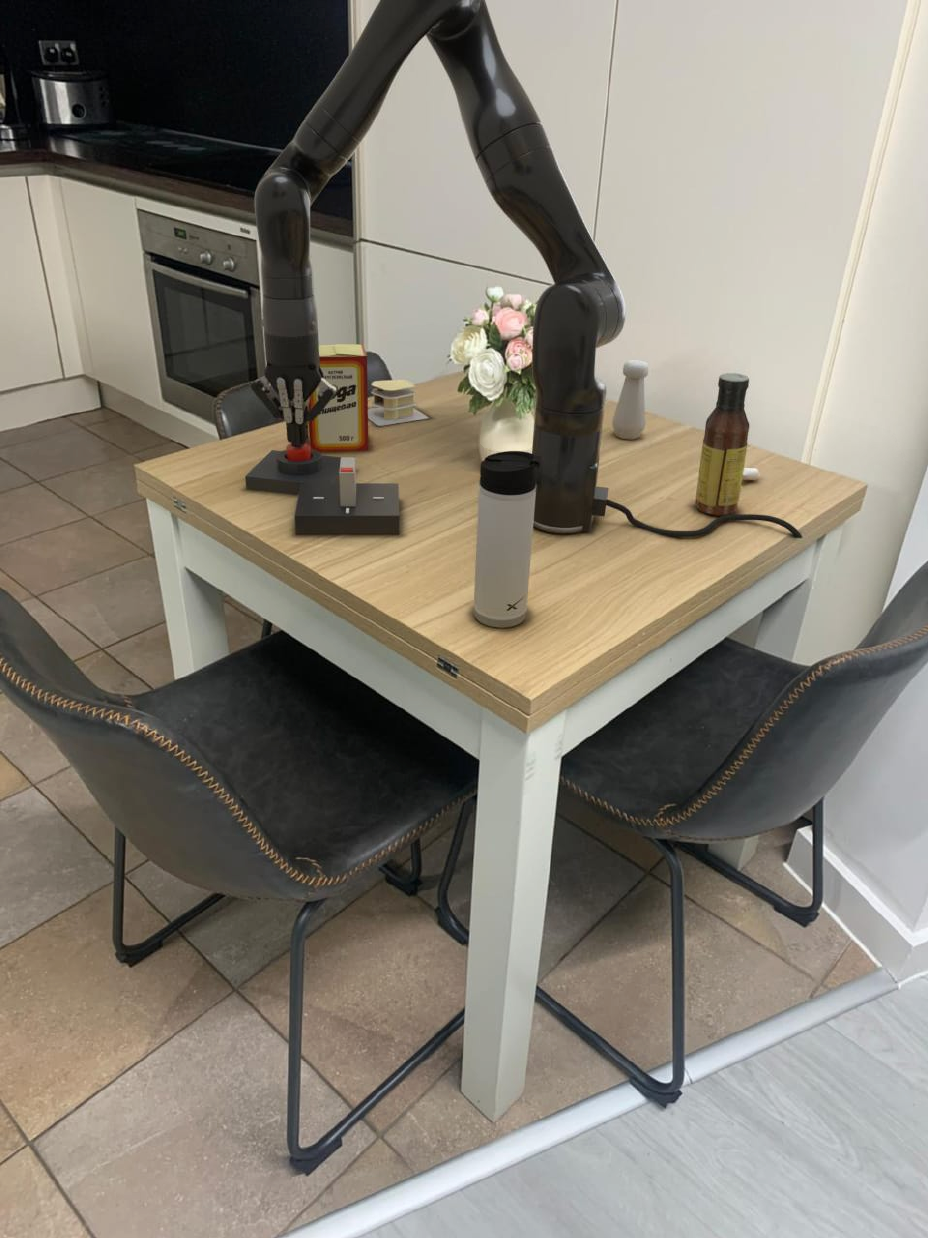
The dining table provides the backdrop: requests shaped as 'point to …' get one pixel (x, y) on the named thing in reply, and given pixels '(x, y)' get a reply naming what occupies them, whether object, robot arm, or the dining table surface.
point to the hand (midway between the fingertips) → (298, 445)
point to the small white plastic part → (750, 474)
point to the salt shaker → (631, 402)
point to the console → (347, 510)
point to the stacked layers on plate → (393, 403)
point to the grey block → (347, 481)
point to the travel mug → (504, 537)
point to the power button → (298, 453)
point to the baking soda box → (342, 401)
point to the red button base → (292, 472)
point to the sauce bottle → (724, 449)
